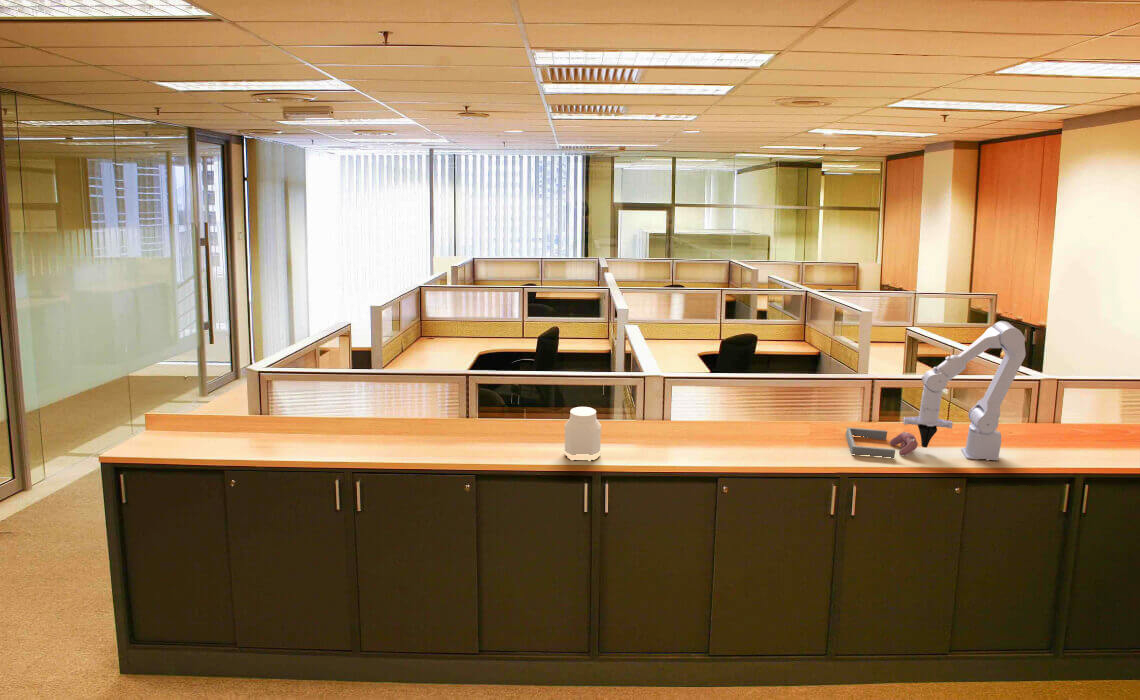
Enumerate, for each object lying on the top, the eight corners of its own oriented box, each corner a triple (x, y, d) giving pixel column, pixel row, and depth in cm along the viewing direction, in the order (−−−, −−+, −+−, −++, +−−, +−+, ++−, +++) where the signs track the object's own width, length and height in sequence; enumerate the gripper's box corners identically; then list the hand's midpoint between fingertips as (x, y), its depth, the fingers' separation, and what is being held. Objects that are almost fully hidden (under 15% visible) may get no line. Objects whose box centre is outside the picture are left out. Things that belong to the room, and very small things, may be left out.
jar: (563, 460, 256) (564, 416, 252) (565, 448, 266) (565, 405, 261) (600, 461, 256) (601, 417, 252) (600, 449, 265) (601, 406, 261)
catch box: (885, 438, 277) (886, 430, 276) (894, 459, 261) (895, 450, 260) (845, 435, 279) (846, 427, 278) (851, 455, 263) (852, 446, 262)
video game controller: (910, 461, 263) (923, 443, 261) (898, 455, 263) (911, 437, 261) (899, 448, 273) (911, 431, 271) (887, 442, 272) (899, 425, 270)
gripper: (908, 409, 260) (902, 448, 264) (957, 413, 257) (950, 453, 261) (904, 402, 266) (899, 440, 270) (951, 405, 264) (945, 444, 267)
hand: (924, 446), depth 266 cm, fingers closed
